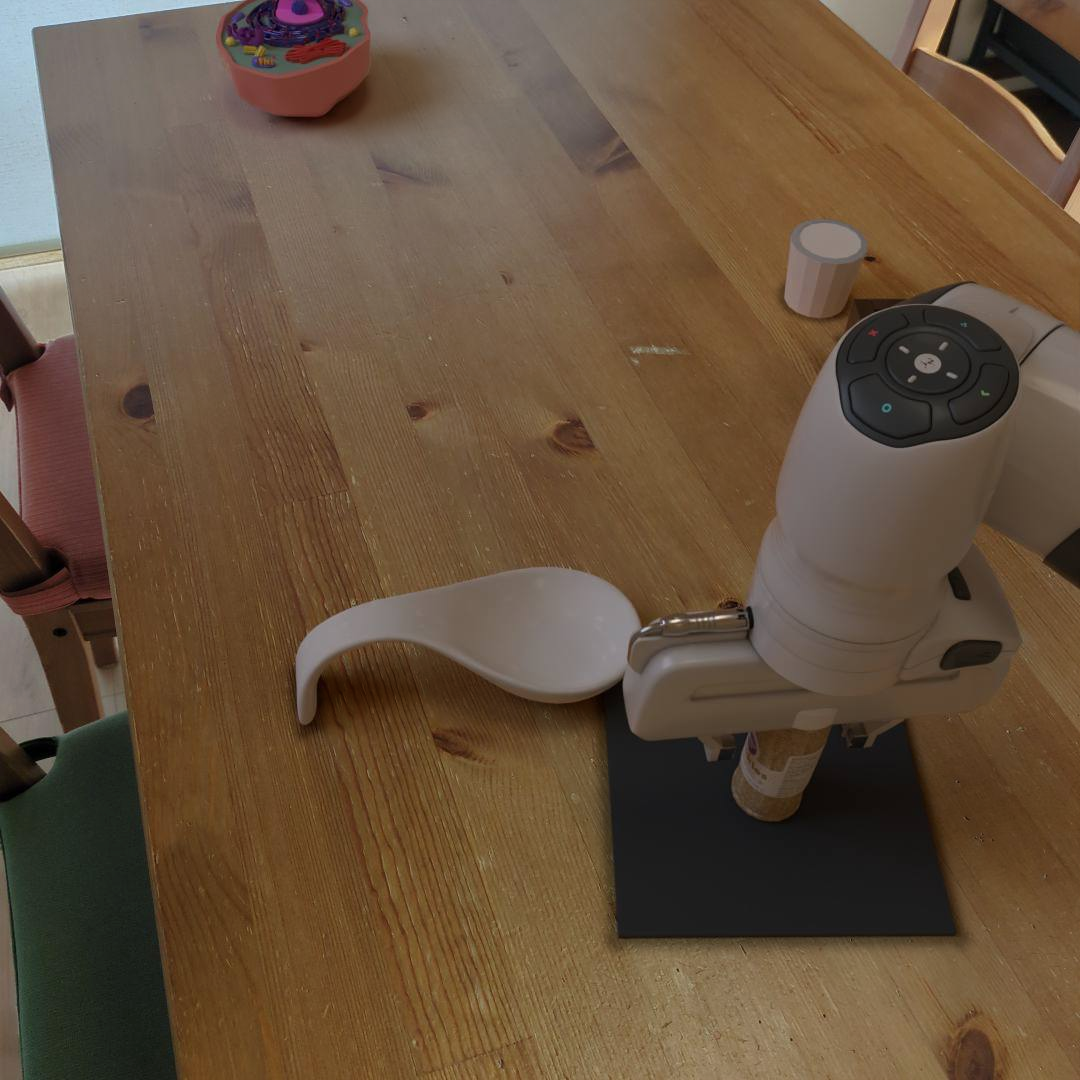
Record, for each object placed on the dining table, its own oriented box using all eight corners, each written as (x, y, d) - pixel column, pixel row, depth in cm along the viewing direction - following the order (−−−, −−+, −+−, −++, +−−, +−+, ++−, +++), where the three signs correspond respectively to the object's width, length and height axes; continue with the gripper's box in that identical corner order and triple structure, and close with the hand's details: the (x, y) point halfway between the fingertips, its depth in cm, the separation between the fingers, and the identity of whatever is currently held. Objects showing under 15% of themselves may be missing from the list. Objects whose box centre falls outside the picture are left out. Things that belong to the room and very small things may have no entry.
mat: (888, 681, 78) (891, 675, 77) (953, 938, 66) (957, 933, 65) (602, 682, 77) (603, 675, 77) (617, 941, 66) (618, 936, 65)
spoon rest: (617, 590, 82) (620, 518, 78) (661, 714, 74) (668, 642, 69) (295, 642, 79) (277, 571, 74) (303, 778, 71) (283, 708, 66)
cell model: (199, 136, 121) (175, 33, 113) (267, 50, 134) (250, -49, 125) (347, 157, 119) (334, 53, 110) (402, 68, 132) (394, -31, 123)
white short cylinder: (842, 280, 107) (859, 217, 102) (857, 326, 102) (876, 262, 97) (771, 280, 107) (785, 217, 101) (783, 326, 102) (798, 263, 97)
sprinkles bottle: (718, 772, 72) (752, 655, 62) (781, 751, 73) (825, 633, 63) (750, 834, 69) (792, 723, 59) (815, 812, 70) (867, 699, 60)
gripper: (642, 675, 53) (621, 808, 63) (1055, 640, 54) (967, 776, 65) (621, 571, 57) (604, 713, 67) (1007, 541, 58) (931, 684, 69)
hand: (785, 743), depth 66 cm, fingers open, 7 cm apart
